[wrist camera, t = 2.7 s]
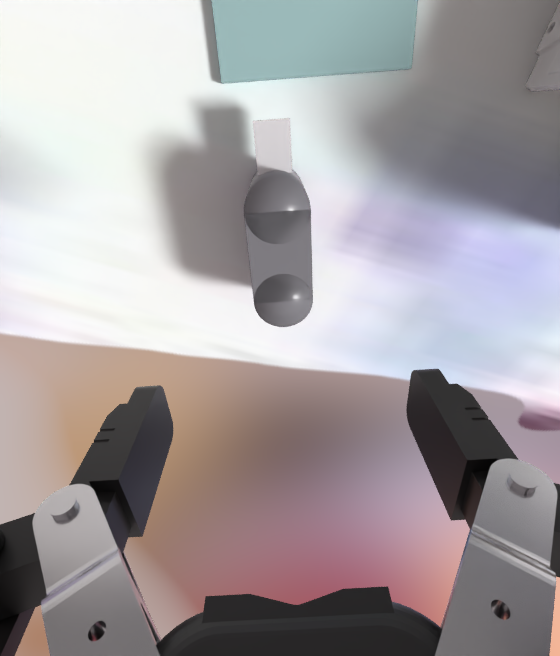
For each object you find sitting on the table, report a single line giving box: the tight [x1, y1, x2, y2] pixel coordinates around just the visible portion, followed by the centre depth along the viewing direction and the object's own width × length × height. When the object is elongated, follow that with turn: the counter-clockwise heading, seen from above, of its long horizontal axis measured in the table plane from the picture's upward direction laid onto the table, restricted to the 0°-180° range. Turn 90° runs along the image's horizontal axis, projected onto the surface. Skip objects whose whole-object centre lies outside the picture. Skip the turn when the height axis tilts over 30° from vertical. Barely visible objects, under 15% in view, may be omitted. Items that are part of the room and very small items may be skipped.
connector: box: [244, 118, 313, 327], centre depth 26 cm, size 4×13×6 cm, turn 4°
